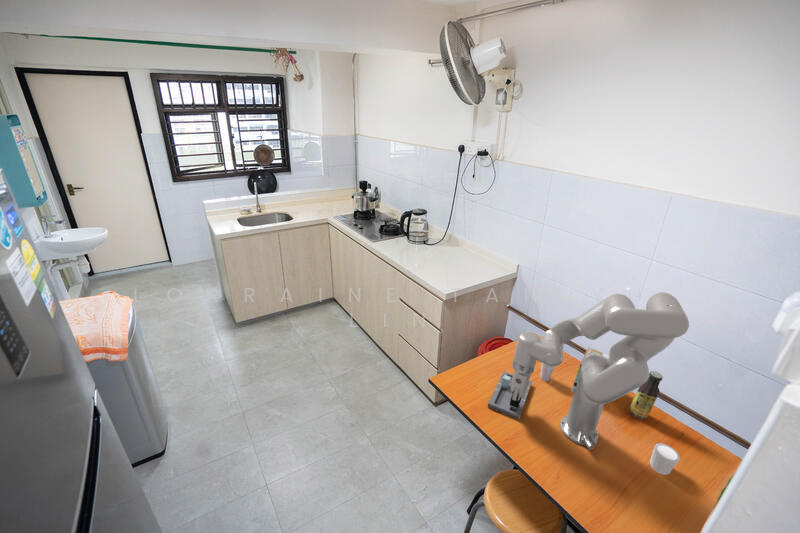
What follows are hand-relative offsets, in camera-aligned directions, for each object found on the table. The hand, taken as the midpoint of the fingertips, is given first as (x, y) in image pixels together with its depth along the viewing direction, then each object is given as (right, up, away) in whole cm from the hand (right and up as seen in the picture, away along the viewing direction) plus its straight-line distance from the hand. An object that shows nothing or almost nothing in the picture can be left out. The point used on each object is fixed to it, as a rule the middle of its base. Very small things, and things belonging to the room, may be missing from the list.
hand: (515, 403), depth 138 cm
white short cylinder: (+42, -14, -19) cm, 48 cm away
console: (+1, 0, +8) cm, 8 cm away
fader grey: (0, -2, +1) cm, 2 cm away
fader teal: (-1, +2, +11) cm, 11 cm away
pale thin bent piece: (+35, +1, +15) cm, 38 cm away
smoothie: (+19, +3, +19) cm, 27 cm away
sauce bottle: (+48, -5, +2) cm, 49 cm away
